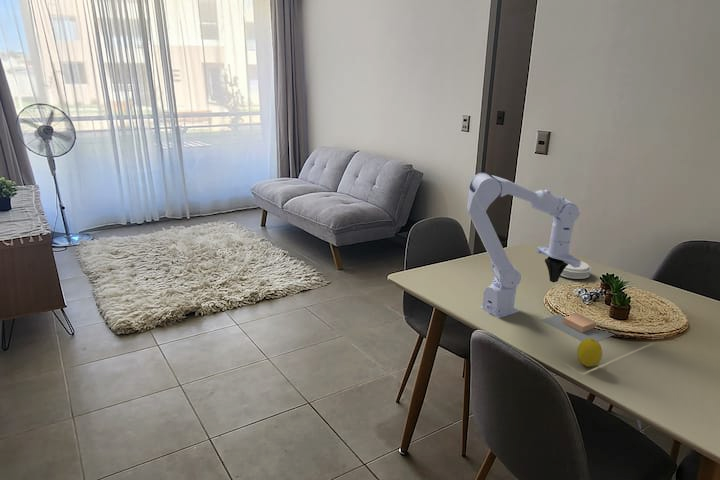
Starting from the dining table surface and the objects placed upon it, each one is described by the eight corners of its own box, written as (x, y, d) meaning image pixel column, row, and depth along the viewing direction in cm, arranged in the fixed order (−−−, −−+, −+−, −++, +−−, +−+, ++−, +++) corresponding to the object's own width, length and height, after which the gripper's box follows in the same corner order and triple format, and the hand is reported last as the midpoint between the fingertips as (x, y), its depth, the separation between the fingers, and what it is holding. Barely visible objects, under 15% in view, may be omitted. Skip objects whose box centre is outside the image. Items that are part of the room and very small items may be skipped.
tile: (562, 323, 137) (581, 333, 132) (563, 317, 136) (582, 326, 131) (575, 318, 140) (595, 328, 134) (576, 312, 139) (596, 322, 134)
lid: (564, 281, 167) (566, 269, 166) (546, 268, 179) (548, 256, 178) (596, 280, 169) (598, 267, 167) (577, 267, 181) (579, 255, 179)
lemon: (578, 357, 120) (583, 330, 118) (601, 365, 117) (607, 338, 114) (572, 367, 116) (577, 339, 114) (595, 375, 113) (601, 347, 110)
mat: (588, 346, 126) (588, 344, 126) (540, 321, 139) (540, 319, 139) (615, 335, 131) (615, 334, 131) (567, 312, 144) (567, 311, 144)
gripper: (590, 244, 134) (582, 287, 138) (550, 231, 146) (544, 270, 151) (574, 248, 131) (566, 292, 135) (534, 234, 143) (528, 274, 147)
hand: (553, 281), depth 143 cm, fingers closed
